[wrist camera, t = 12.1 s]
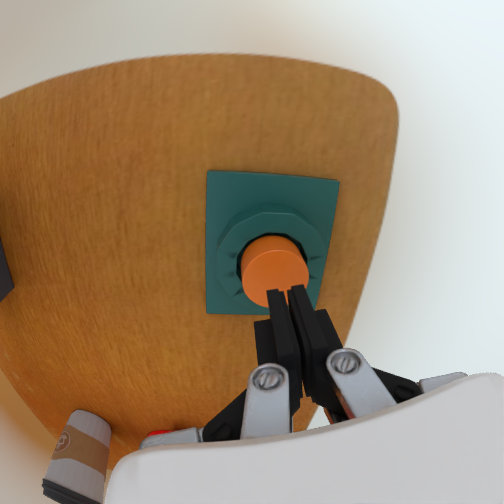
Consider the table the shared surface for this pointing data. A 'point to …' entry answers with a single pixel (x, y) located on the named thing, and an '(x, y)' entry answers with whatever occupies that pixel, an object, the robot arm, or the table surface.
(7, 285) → the tall knob tower
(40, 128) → the table surface
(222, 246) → the push button base
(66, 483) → the coffee cup
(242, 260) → the button
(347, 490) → the robot arm
